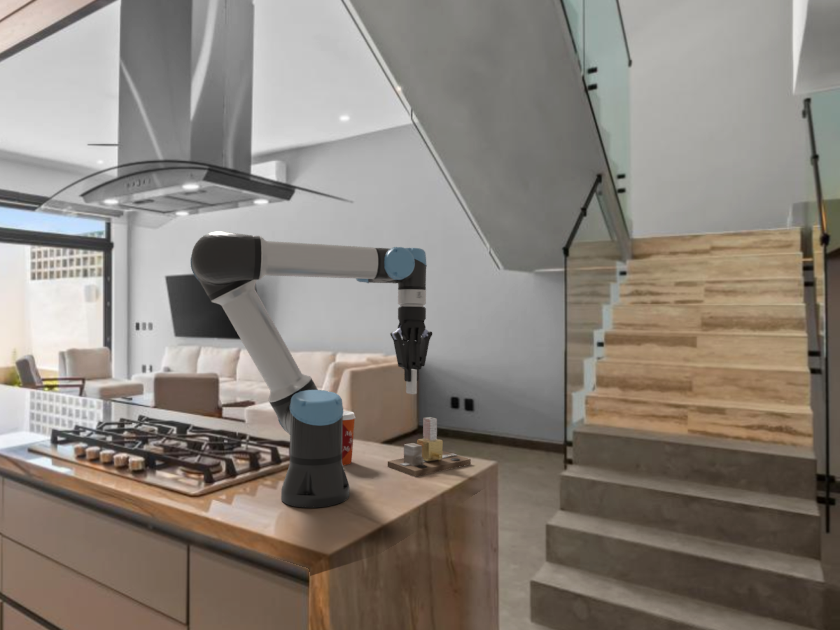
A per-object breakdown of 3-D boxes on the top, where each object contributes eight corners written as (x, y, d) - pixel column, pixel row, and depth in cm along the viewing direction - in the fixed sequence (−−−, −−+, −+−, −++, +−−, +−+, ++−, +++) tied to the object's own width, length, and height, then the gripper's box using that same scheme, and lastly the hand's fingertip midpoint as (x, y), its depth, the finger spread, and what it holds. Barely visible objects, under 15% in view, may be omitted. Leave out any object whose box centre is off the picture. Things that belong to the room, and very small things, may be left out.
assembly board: (414, 476, 141) (415, 451, 141) (387, 466, 151) (387, 442, 151) (470, 464, 154) (470, 441, 154) (442, 455, 163) (442, 433, 163)
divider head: (433, 463, 147) (433, 421, 147) (417, 457, 153) (417, 417, 153) (447, 460, 150) (447, 419, 150) (430, 455, 156) (431, 416, 156)
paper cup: (353, 466, 150) (353, 415, 150) (325, 466, 150) (325, 415, 150) (357, 459, 158) (357, 410, 158) (330, 459, 158) (331, 410, 158)
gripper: (401, 305, 141) (400, 397, 141) (439, 306, 149) (438, 393, 149) (384, 305, 147) (383, 393, 147) (421, 306, 155) (421, 390, 155)
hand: (411, 393), depth 148 cm, fingers closed
